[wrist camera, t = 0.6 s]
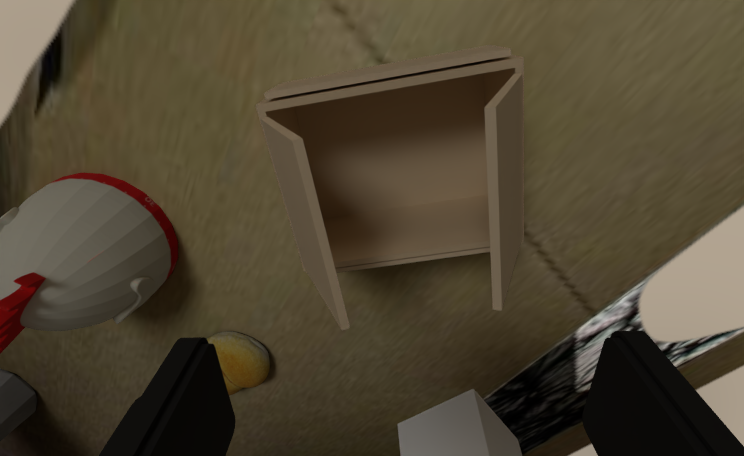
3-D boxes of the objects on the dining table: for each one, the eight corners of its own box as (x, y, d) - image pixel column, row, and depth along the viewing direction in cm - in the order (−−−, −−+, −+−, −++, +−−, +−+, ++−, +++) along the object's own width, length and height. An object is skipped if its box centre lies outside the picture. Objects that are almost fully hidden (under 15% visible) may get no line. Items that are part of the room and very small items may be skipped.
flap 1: (268, 116, 26) (302, 138, 19) (309, 264, 31) (349, 327, 24) (260, 118, 26) (292, 141, 18) (303, 267, 31) (342, 330, 23)
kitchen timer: (21, 248, 42) (-148, 355, 28) (61, 143, 36) (-123, 213, 23) (148, 312, 45) (52, 433, 32) (200, 225, 40) (112, 325, 27)
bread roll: (283, 367, 49) (276, 394, 45) (221, 386, 51) (209, 414, 47) (249, 318, 46) (238, 343, 42) (183, 340, 47) (167, 366, 44)
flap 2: (522, 72, 24) (495, 106, 18) (522, 236, 29) (501, 310, 23) (514, 73, 24) (484, 107, 18) (515, 235, 30) (492, 309, 23)
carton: (487, 41, 32) (523, 46, 24) (493, 202, 38) (523, 249, 30) (282, 78, 34) (252, 95, 26) (320, 228, 40) (306, 279, 32)
